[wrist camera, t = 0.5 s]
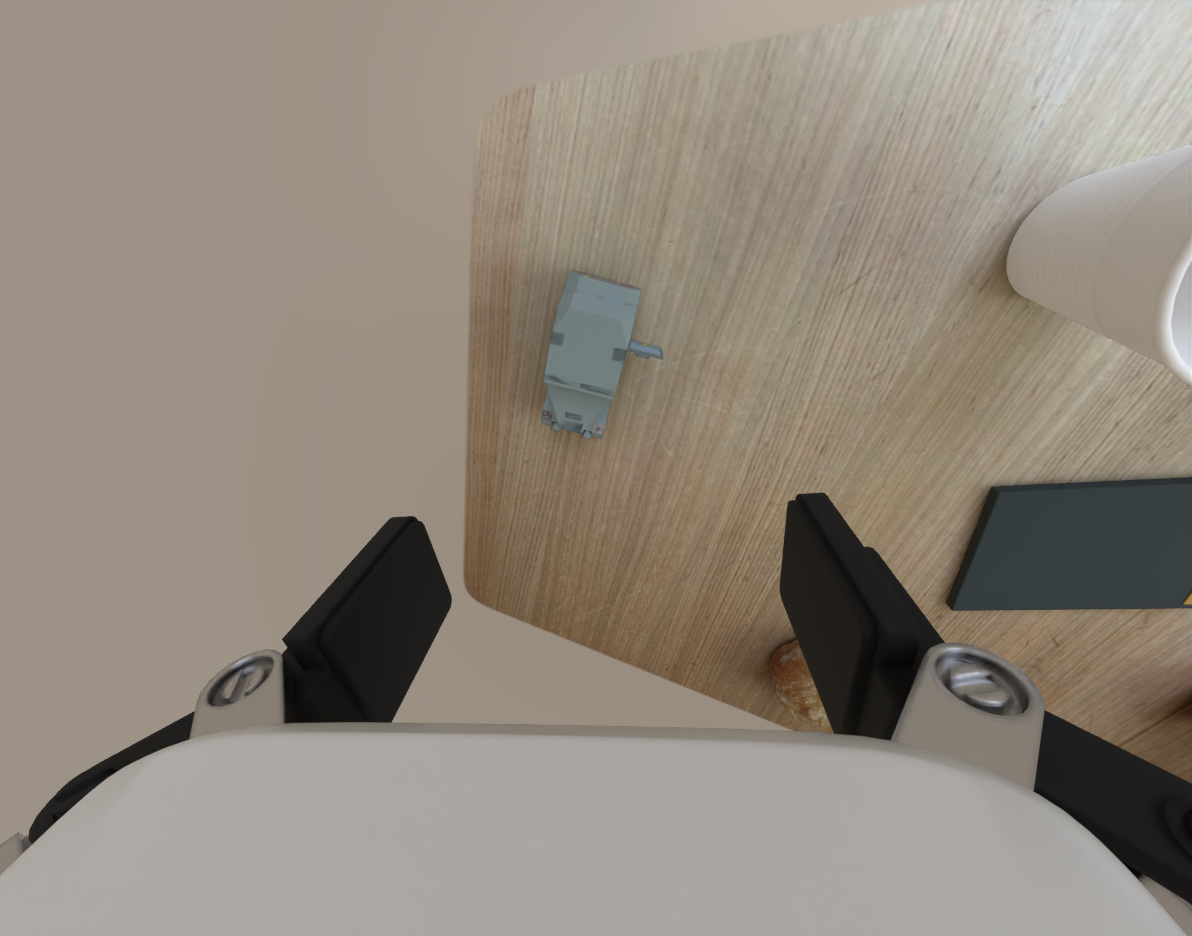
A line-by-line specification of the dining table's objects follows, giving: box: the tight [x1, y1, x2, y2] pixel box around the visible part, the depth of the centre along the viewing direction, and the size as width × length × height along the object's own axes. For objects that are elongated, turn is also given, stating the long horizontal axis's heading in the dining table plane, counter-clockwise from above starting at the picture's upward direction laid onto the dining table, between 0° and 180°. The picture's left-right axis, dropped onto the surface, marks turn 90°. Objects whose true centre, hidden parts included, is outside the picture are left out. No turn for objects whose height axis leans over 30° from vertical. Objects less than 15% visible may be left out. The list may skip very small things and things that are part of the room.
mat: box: [947, 478, 1192, 611], centre depth 32 cm, size 12×18×1 cm, turn 97°
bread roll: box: [770, 639, 834, 733], centre depth 40 cm, size 10×10×8 cm
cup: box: [1007, 144, 1192, 386], centre depth 19 cm, size 10×10×11 cm
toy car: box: [541, 270, 663, 439], centre depth 27 cm, size 6×10×5 cm, turn 167°
